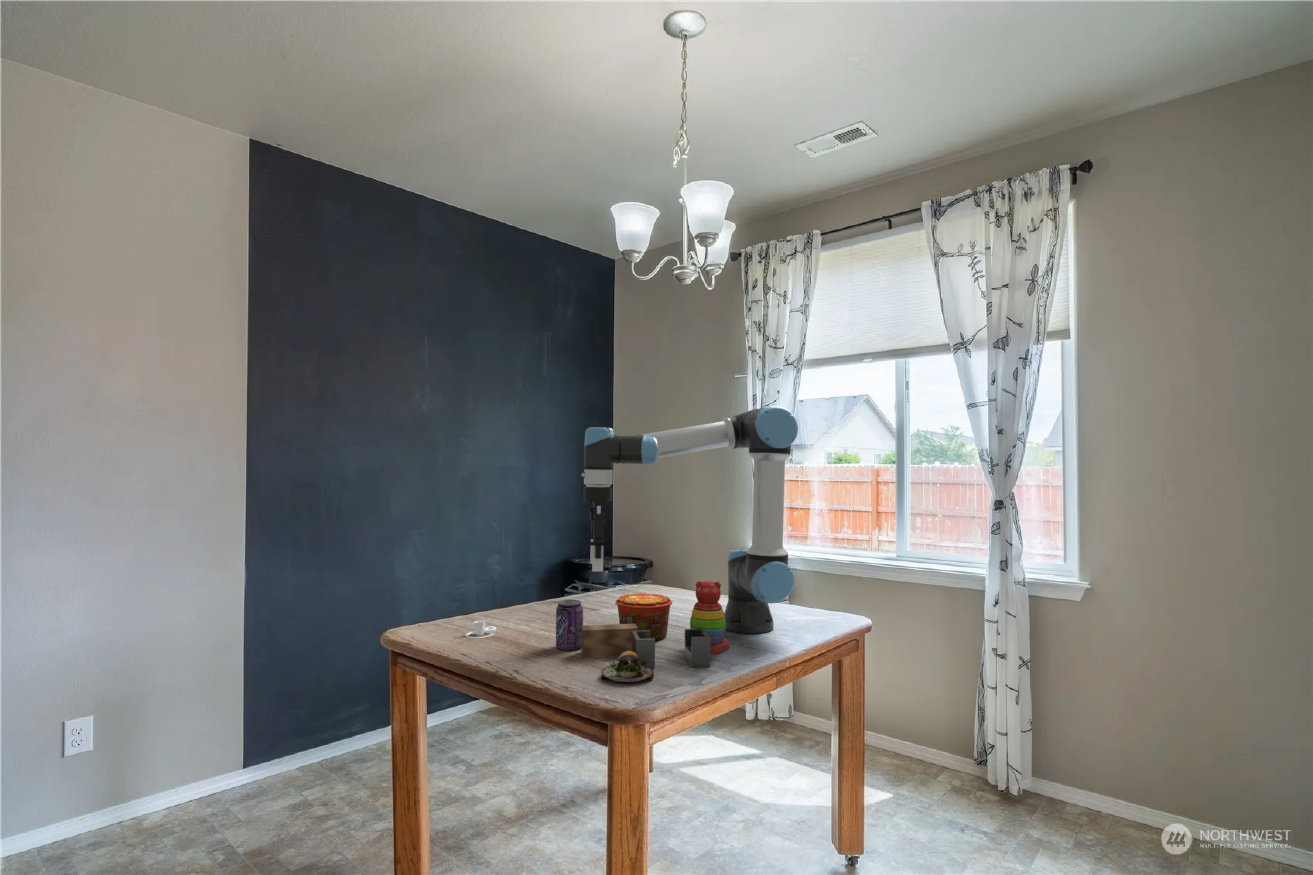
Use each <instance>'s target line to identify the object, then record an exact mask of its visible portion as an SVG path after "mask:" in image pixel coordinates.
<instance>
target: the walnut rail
mask: <svg viewBox="0 0 1313 875" xmlns="http://www.w3.org/2000/svg"><path fill="white" fill-rule="evenodd" d="M632 631H638V627H637V625H636V624H620V623H615V624H611V623H610V624H590V625H589V624H588V625H585V624H583V626H582V643H581V647H580V650H581V656H582V658H583V659H584V658H585V659H587V658H610V657H619V656H620V655H621V654H622V653H624V652H626V651H628V650H629V651H632ZM628 648H629V649H628Z"/></svg>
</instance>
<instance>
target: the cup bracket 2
mask: <svg viewBox="0 0 1313 875" xmlns="http://www.w3.org/2000/svg"><path fill="white" fill-rule="evenodd" d="M684 658H685V660H686V661H687V663H688V665H689V666H691V669H692V668H694V669H695V668H710V667H711V654H710V636H709V635H708V634H707V633H706V632H705V631H704V630H703V629H702V628H698V629H690V628H685V629H684Z"/></svg>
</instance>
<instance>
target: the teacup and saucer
mask: <svg viewBox="0 0 1313 875" xmlns="http://www.w3.org/2000/svg"><path fill="white" fill-rule="evenodd" d="M472 626H473V627H472ZM469 628H470V632H469V631H468V632H466V633H465V634H464V637H466V638H469V639H483V638H484V639H485V638H489V637H492V636H494V634H495V633H496V631H497V627H496V626H494V625H491V626H487V627H486V620H474V622H473V623H471V624H470V627H469ZM471 633H472V634H474V635H475V636H470V635H471ZM485 634H486V635H485ZM483 635H485V636H483ZM469 636H470V637H469Z"/></svg>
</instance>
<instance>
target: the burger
mask: <svg viewBox="0 0 1313 875" xmlns="http://www.w3.org/2000/svg"><path fill="white" fill-rule="evenodd" d="M628 649H629V648H628ZM637 660H638V656H637V654H636V653H634V652H632V651H629V650H628V651H626V652H624V653H622V654H621V655H620V656H618V663H617V662H616V663H615V662H614V661H613V660H612V663H609V664H608V665H609V666H606V667H604V668H603V669H602V670H601V677H600V680H601V681H602V680H603V678H606V679H609V680H610V681H613V682H617V683H618V682H622V683H634V682H641V681H643V680H646V679H648V678H650V681H653V679H654V677H655V674H654V669H651V668H649V667H646V666H643V665H641V663H640V662H637Z"/></svg>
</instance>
